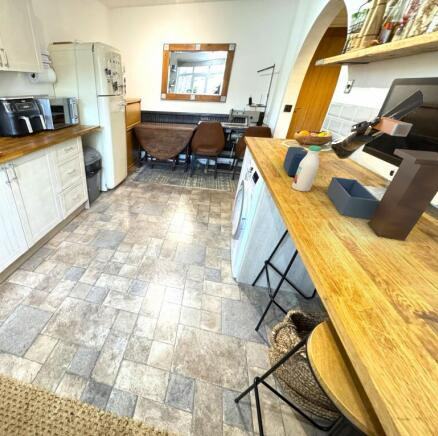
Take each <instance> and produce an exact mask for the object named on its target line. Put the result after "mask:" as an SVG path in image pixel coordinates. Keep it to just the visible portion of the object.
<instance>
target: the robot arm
mask: <svg viewBox="0 0 438 436" xmlns="http://www.w3.org/2000/svg"><path fill="white" fill-rule="evenodd" d="M422 104H423V94H422V92H421V91H420V90H419V89H418V90H416V91H414V92H413V93H411V94H410V95H409V96H407V97H406V98H405V99H404V100H402V101H401V102H399V103H398V104H397V105H395V106H394V107H392V108H391V109H390V110H388V111H387V112H385V113H384V114H383V115H382V116H377V117H378V118H375V117H374V118H375V119H374V118H373V119H371V120H369V121H367V120H363V121H360V122H357V123H355V124H352V125H351V128H350V133H348V135H346V136H341V137H338V138H336V139H335V140H333V141H332V142H331V143H330V149H331V151H332V152H333V153H334V154H335V155H336V157H337V158H338V159H339V160H346V159H348V158H350V157H351V156H353V155H354V154H355V153H356V152H357V151H358V150H359V149H360V148H362V147H363V146H365V145H366V144H368V143H370V142H372V141H373V140H375V139H376V138H379V137H381V136H382V135H383V134H387V135H389V136H391V135H390V134H388V133H385V132H383V131H380V130H378V129H375V128H372V127H374V126H376V125H377V124H379V123H380V120H381V117H387V118H391V119H394V120H398V121H401V119H402V118H404V117H405V116H407V115H408V114H410V113H411V112H414V111H413V110H415V109H417V108H419V107H421V106H422Z"/></svg>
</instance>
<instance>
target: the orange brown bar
mask: <svg viewBox="0 0 438 436" xmlns="http://www.w3.org/2000/svg"><path fill="white" fill-rule="evenodd" d="M378 117H379V116H374V118H373V120H374V119H375V118H378ZM380 117H381V120H380V123H379V124H377V125H376V126H374V127H372V128H375V129H378V130H380V131H383V132H385V133H384V134H387V133H388V134H390V135H389V136H394V137H407V136H408V134H409V132H410V131H411V129H412V127H413V123H409V122H405V121H401V120H394V119H391V118H387V117H382V116H380ZM388 134H387V135H388Z"/></svg>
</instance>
